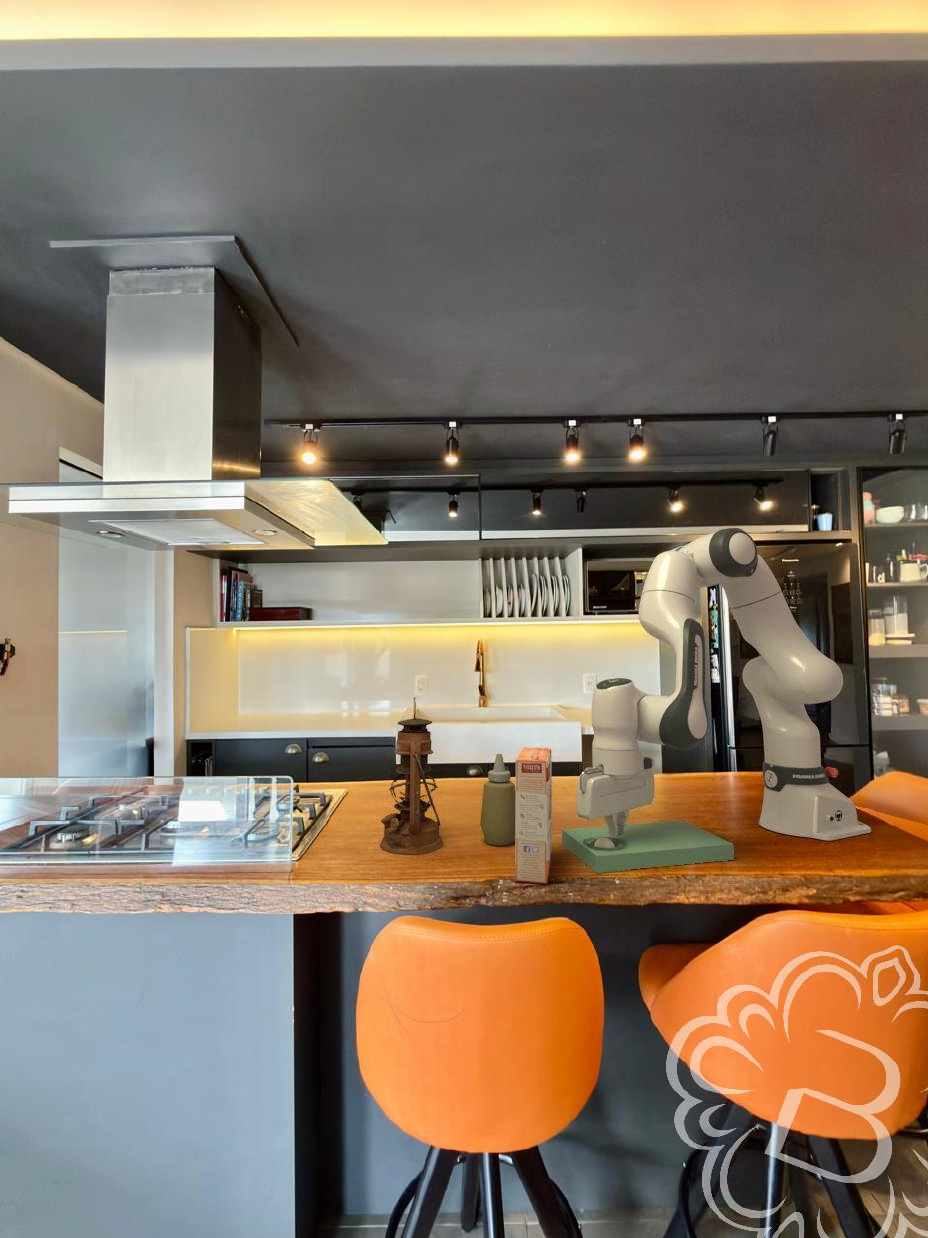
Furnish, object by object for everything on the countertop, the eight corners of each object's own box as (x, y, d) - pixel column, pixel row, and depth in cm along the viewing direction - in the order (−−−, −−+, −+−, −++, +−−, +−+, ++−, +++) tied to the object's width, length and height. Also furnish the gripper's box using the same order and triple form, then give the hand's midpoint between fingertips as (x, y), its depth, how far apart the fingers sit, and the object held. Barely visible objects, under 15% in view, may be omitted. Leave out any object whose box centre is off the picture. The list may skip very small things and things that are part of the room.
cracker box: (549, 885, 96) (548, 759, 98) (514, 882, 97) (513, 758, 99) (553, 856, 110) (552, 746, 111) (522, 854, 111) (521, 745, 112)
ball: (605, 830, 110) (594, 836, 107) (622, 845, 108) (611, 852, 105) (598, 846, 112) (586, 852, 109) (614, 860, 109) (603, 868, 106)
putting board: (683, 834, 123) (683, 820, 123) (734, 860, 108) (733, 844, 108) (562, 844, 117) (561, 829, 117) (597, 873, 101) (596, 855, 102)
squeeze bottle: (526, 841, 119) (526, 754, 120) (502, 851, 113) (501, 759, 114) (497, 833, 124) (496, 749, 126) (472, 842, 119) (472, 754, 120)
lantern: (379, 832, 125) (380, 695, 127) (438, 829, 127) (438, 694, 129) (380, 860, 108) (381, 700, 110) (448, 856, 110) (448, 699, 112)
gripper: (593, 771, 103) (595, 850, 102) (659, 758, 115) (661, 828, 114) (567, 766, 108) (568, 841, 107) (633, 754, 120) (634, 821, 119)
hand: (617, 834), depth 111 cm, fingers closed
